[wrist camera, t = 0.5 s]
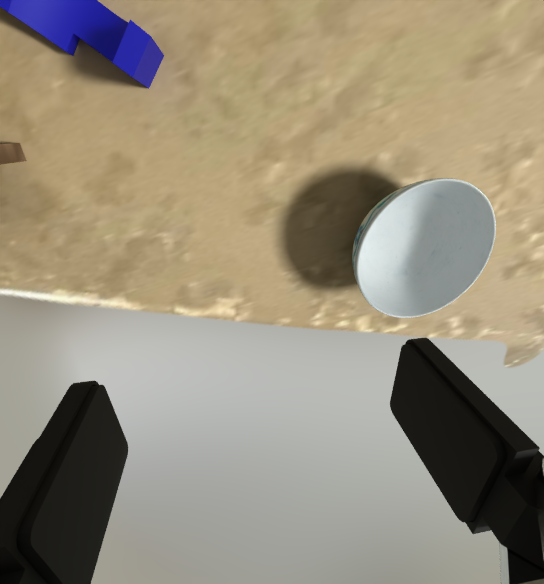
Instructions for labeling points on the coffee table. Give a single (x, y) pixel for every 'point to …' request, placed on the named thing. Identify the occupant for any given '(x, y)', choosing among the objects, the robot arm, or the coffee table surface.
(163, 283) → the coffee table surface
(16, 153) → the dock bay
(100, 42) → the cable clip
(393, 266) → the chinaware
